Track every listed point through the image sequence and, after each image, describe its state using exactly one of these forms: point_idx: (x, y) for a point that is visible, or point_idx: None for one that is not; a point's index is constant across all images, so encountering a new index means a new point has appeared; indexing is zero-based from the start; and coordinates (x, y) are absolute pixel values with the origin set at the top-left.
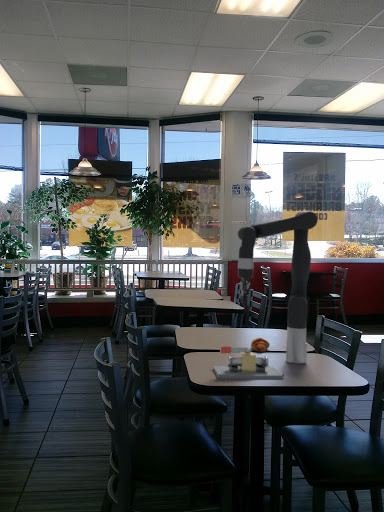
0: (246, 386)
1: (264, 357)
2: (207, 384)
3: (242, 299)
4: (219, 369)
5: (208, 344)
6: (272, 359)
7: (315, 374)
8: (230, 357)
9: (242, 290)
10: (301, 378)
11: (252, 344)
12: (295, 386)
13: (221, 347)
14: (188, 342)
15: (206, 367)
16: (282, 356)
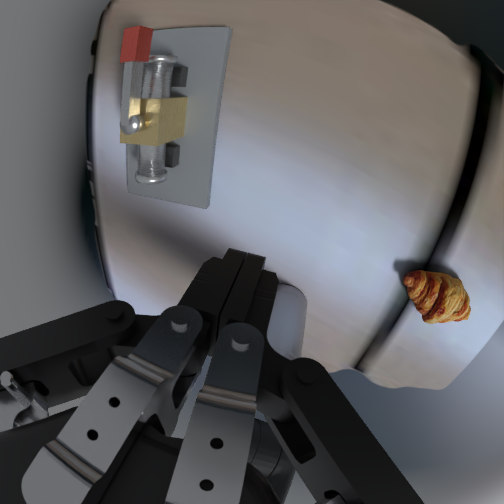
0: (91, 91)
1: (142, 174)
2: (111, 13)
3: (217, 275)
4: (187, 39)
5: None
6: (322, 263)
7: (170, 276)
8: (146, 63)
9: (116, 365)
10: (140, 232)
11: (447, 279)
12: (93, 192)
13: (125, 29)
14: None
15: (259, 16)
16: (344, 304)
